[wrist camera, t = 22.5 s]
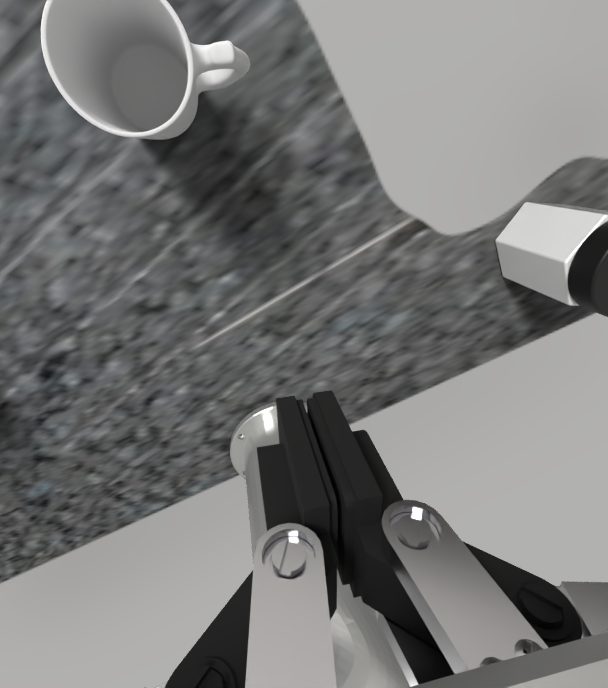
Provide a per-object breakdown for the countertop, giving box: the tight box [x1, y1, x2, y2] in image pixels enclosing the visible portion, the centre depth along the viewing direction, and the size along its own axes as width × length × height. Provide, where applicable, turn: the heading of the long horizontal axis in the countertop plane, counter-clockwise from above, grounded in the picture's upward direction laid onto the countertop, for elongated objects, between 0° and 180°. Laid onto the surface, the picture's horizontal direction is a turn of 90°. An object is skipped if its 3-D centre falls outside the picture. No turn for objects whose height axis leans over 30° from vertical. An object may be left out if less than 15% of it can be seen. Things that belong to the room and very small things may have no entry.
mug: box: [41, 0, 250, 140], centre depth 24 cm, size 10×7×12 cm, turn 97°
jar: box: [495, 202, 608, 317], centre depth 36 cm, size 9×8×12 cm
